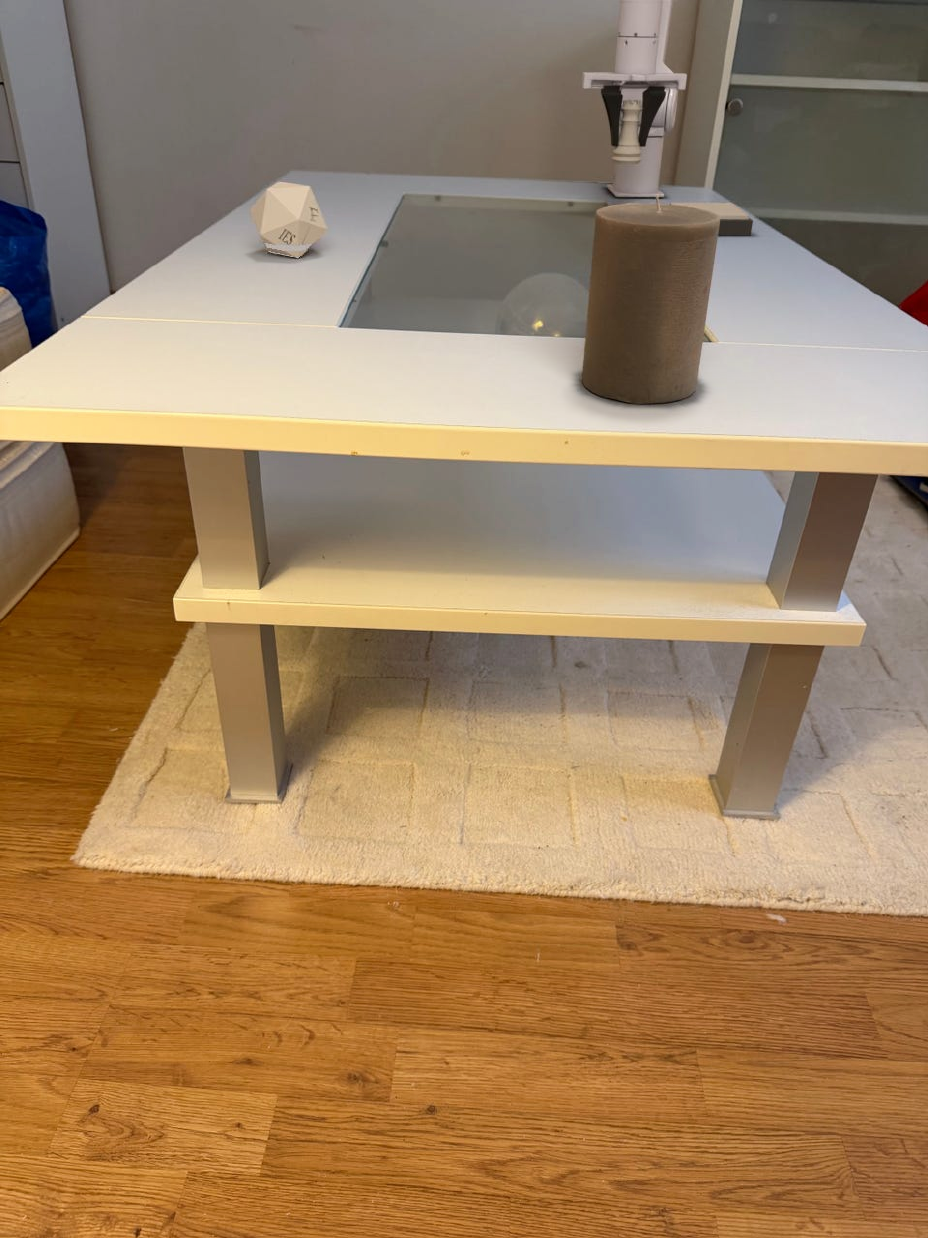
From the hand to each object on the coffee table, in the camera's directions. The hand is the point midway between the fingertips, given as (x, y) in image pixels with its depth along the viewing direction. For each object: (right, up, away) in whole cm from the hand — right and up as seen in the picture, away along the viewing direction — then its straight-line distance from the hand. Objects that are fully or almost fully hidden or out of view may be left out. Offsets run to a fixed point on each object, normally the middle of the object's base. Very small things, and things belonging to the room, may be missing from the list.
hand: (627, 145), depth 139 cm
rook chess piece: (0, -2, +1) cm, 2 cm away
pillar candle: (-9, -49, -57) cm, 76 cm away
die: (-46, -23, -19) cm, 55 cm away
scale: (+11, -13, -3) cm, 17 cm away
